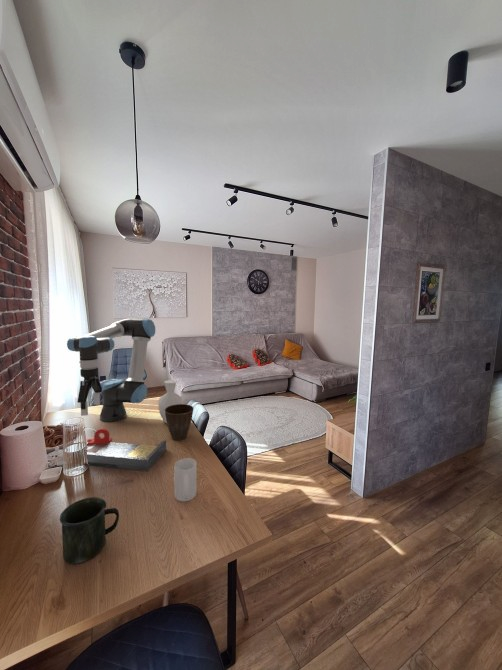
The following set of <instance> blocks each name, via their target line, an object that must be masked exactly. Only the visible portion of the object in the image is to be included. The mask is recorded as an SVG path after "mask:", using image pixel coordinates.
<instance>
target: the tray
mask: <svg viewBox="0 0 502 670" xmlns="http://www.w3.org/2000/svg"><path fill="white" fill-rule="evenodd" d="M166 451H167V440H166V439H163V440H162V441H160V443H159V444H158V445H156V446H155V445H148V444H147V445H146V444H145V445H144V444H137V443H136V444H135V443H123V442H113V441H110V443H108V444H104V446H103V447H101V448H100V449H99V450H97V451H96V452H87V451H86V452H87V459H88V464H89V465H88V466H91V467H92V466H93V467H102V468H112V469H121V470H122V469H123V470H132V471H140V472H149V470H151V468H152V467H153V466H154V465H155V464H156V463H157V461H158V460H160V458H161V457H162V456H163V454H164V453H165V452H166Z"/></svg>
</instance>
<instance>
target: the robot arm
mask: <svg viewBox="0 0 502 670" xmlns="http://www.w3.org/2000/svg"><path fill="white" fill-rule="evenodd" d="M155 335H156V325H155V323H154V321H153V320H152V319H149V318H125V319H121V320H119V321H115V322H113V323H112V324H110V325H108V326H107V327H104V328H101V329H98V330H96V331H93V332H90V333H86V334H85V335H81V336H78V337H77V336H72V337H70V338H68V339H67V341H66V347H67V349H68V351H71V352H77V353H79V368H80V377H81V378H83V380H80V382H79V383H80V384H79V385H80V386H79V390H78V396H77V403H79V404H80V416H89V409H88V406H89V405H88V401H87V400H88V396H89V393H90V390H91V389H92V390H93V405H94V406H100V405H101V397H102V408H101V411H100V414H99V420H100V421H102V422H105V423H106V422H115V421H120V420H123V419H125V418H126V417H127V410H126V407H125V405H124V403H129V404H139V403H142V402H144V400H145V399H146V396H147V394H148V386H147V384H145V380H144V379H143V377H144V372H145V371H144V369H145V363H146V356H147V350H148V348H147V347H148V342H150V341H151V340H152V339H151V338H153V337H154V336H155ZM125 336H127V337H129V336H130V337H131V340H132V341H133V343H132V349H131V355H130V363H129V370H128V376H127V378H125V380H124V381H123V380H122V379H117V380H110V381H106V382H104V383H103V384H102V385H101V381H100V378H99V368H98V367H99V358H98V355H99V354H103V353H108V352H111V351H113V349H114V348H115V341H114V340H113V339H114V338H121V337H125ZM101 395H102V396H101Z"/></svg>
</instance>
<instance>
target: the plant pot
mask: <svg viewBox="0 0 502 670" xmlns="http://www.w3.org/2000/svg"><path fill="white" fill-rule="evenodd" d="M193 413H194V406H192V405H190V404H184V403H182V404H177V405H172V406H169V407H167V408H166V409H165V415H166V421H167V423H166V425H167V427H168V431H169V433H170V436H171V439H172V440H173V441H182V440H185V439H186V437H187V435H188V433H189V430H190V426H191V424H192V420H193Z"/></svg>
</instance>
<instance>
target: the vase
mask: <svg viewBox="0 0 502 670" xmlns="http://www.w3.org/2000/svg"><path fill="white" fill-rule="evenodd" d="M163 383H164V387H165V390H166V393H165V394H163V395H162V396H161V397H159V399H158V411H159V415H160V417H161V418H162V421H163V422H164V423H165V424H167V421H166V415H165V409H166V408H167V407H169V406H172V405H177V404H183V397H182V396H180V394H178V393H176V392H175V390H176V386H177V380H175V379H168V380H167V379H166V380H164V382H163Z"/></svg>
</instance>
